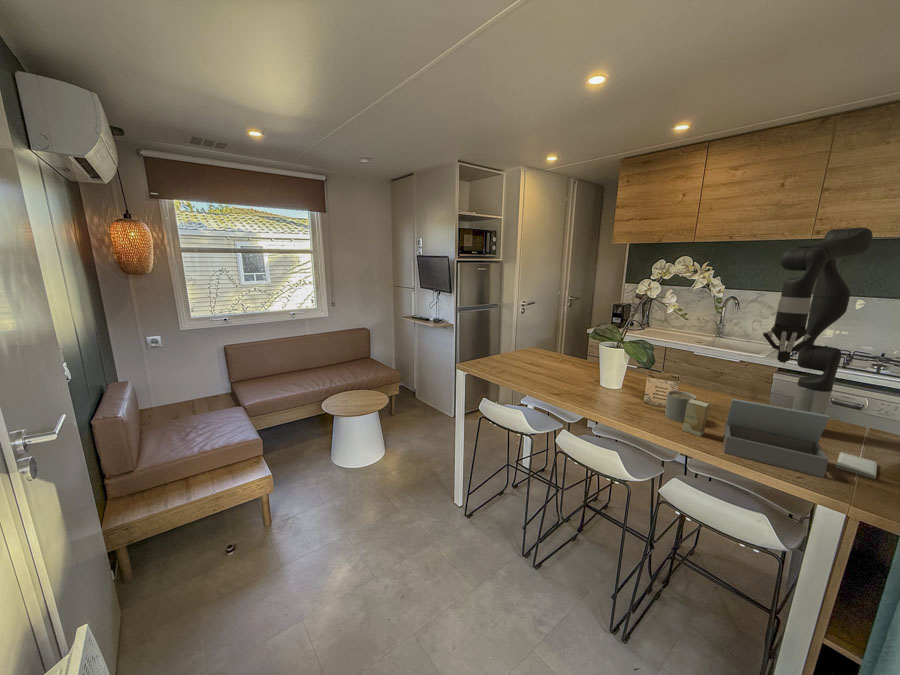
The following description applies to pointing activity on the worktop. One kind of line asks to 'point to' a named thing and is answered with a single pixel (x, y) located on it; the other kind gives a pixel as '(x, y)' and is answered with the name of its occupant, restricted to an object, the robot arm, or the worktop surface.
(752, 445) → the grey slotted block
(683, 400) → the coffee mug
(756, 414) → the cover
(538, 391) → the worktop surface
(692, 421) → the skincare box
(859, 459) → the hard drive
